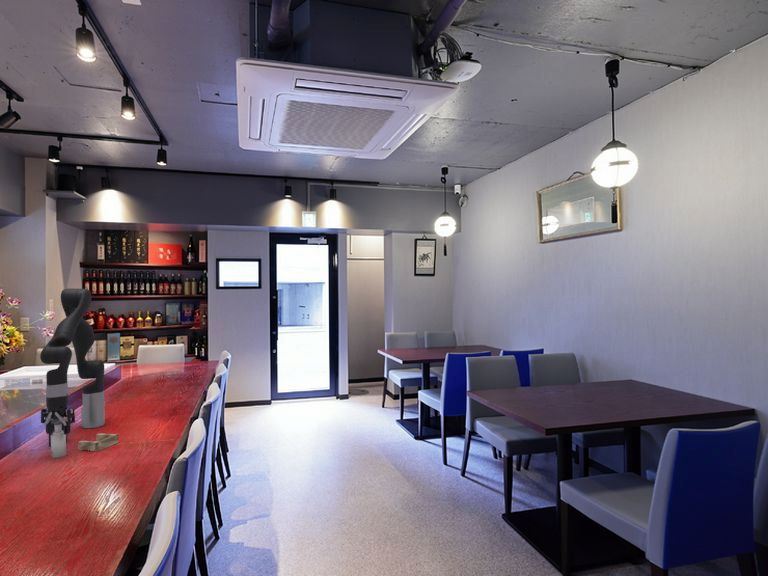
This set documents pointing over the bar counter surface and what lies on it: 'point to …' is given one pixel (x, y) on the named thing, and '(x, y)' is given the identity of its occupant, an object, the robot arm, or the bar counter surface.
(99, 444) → the rest
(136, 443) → the bar counter surface
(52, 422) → the box
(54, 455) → the bottle
